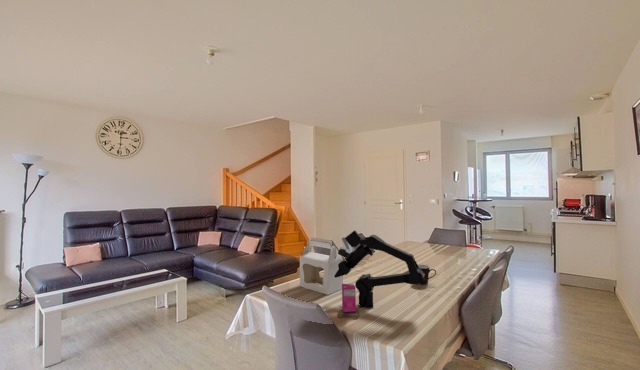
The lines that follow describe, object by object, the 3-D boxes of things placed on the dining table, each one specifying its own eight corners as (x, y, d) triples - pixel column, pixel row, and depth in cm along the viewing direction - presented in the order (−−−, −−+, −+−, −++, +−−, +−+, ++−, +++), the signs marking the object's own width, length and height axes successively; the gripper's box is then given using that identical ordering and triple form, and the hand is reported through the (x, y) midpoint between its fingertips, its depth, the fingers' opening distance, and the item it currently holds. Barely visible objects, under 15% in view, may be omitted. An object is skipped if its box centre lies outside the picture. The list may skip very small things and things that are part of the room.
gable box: (299, 286, 174) (299, 238, 174) (314, 280, 184) (314, 235, 184) (328, 295, 160) (328, 243, 160) (343, 288, 170) (343, 239, 170)
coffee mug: (412, 283, 179) (411, 266, 179) (418, 279, 185) (418, 263, 186) (431, 287, 171) (431, 270, 171) (437, 283, 178) (436, 267, 178)
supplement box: (341, 307, 140) (341, 283, 140) (354, 307, 140) (354, 283, 140) (343, 313, 134) (343, 287, 134) (356, 313, 134) (356, 287, 134)
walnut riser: (358, 310, 140) (358, 307, 140) (358, 318, 132) (358, 315, 132) (339, 309, 142) (339, 305, 142) (337, 317, 133) (337, 314, 133)
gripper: (352, 239, 158) (333, 258, 163) (342, 245, 141) (320, 266, 145) (367, 255, 156) (347, 274, 160) (358, 263, 138) (335, 284, 142)
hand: (337, 274), depth 152 cm, fingers open, 9 cm apart
